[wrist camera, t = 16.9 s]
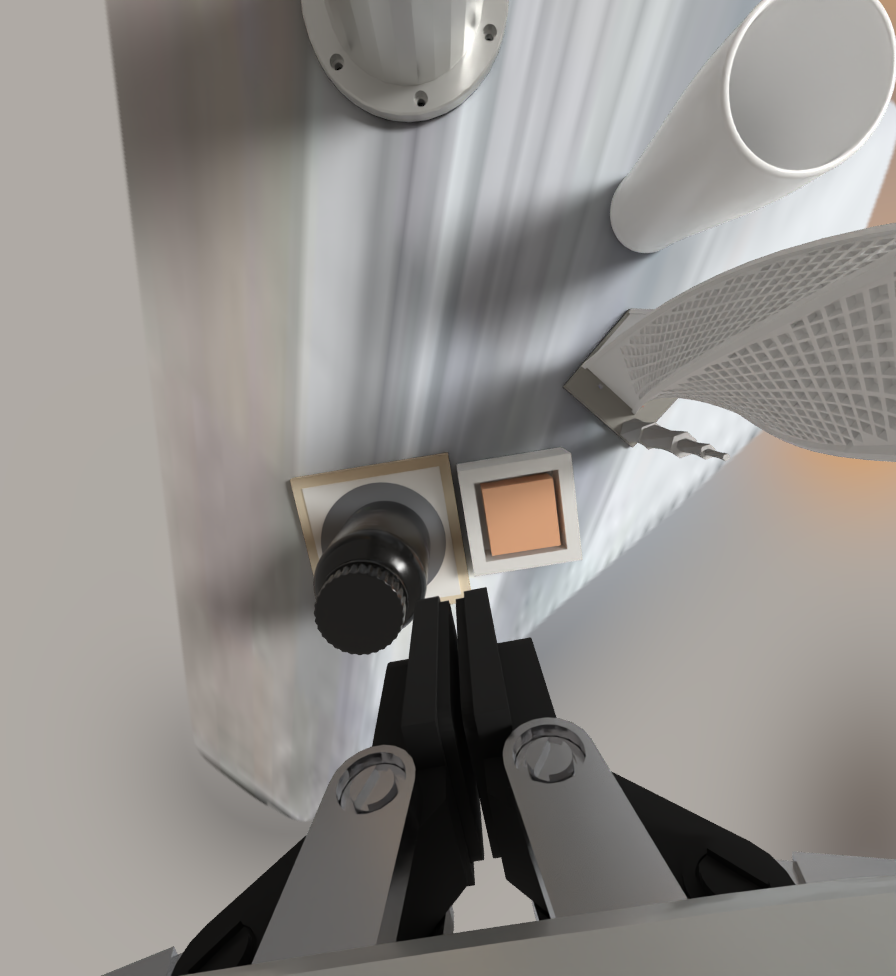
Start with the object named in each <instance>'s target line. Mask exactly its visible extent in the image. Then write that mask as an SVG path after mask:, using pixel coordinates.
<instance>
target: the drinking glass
mask: <svg viewBox="0 0 896 976" xmlns="http://www.w3.org/2000/svg"><path fill="white" fill-rule="evenodd" d="M895 80H896V38H895V33H894V30H893V26H892V23H891V21H890V19H889V17H888V14H887V12H886V11H885V9H884V7H883V6H882V4H881V3H880V2H879V0H762V1H761V2H760V3H759V4H758V5H757V6H756V7H755V8H754V9H753V10H752V11H751V12H750V13H749V14H748V16H747V17H746V18H745V19H744V20H743V21H742V22H741V23H740V24H739V25H738V26H737V27H736V28H735V29H734V30H733V32H732V33H731V34H730V35H729V36H728V37H727V38H726V39H725V40H724V42H723V43H722V44H721V45H720V46H719V47H718V48H717V50H716V51H715V52H714V53H713V54H712V55H711V57H710V58H709V59H708V60H707V61H706V63H705V64H704V65H703V66H702V68H701V69H700V70H699V71H698V73H697V74H696V75H695V77H694V78H693V79H692V81H691V82H690V83H689V85H688V86H687V88H686V89H685V90H684V92H683V93H682V95H681V96H680V98H679V99H678V101H677V102H676V104H675V105H674V107H673V108H672V110H671V111H670V113H669V114H668V116H667V117H666V119H665V120H664V122H663V123H662V125H661V126H660V128H659V129H658V131H657V132H656V134H655V135H654V137H653V138H652V140H651V141H650V143H649V144H648V146H647V147H646V149H645V150H644V152H643V153H642V155H641V156H640V158H639V159H638V161H637V162H636V164H635V165H634V167H633V168H632V170H631V171H630V172H629V173H628V174H627V176H626V177H625V178H624V179H623V180H622V181H621V183H620V184H619V186H618V187H617V189H616V191H615V193H614V196H613V199H612V202H611V207H610V221H611V226H612V229H613V231H614V234H615V235H616V237H617V239H618V240H619V241H620V242H621V243H622V244H623V245H624V246H625V247H627V248H628V249H630V250H632V251H635V252H639V253H653V252H657V251H660V250H663V249H665V248H667V247H669V246H670V245H672V244H674V243H676V242H678V241H681V240H683V239H685V238H688V237H690V236H693V235H696V234H698V233H701V232H703V231H706V230H708V229H711V228H713V227H716V226H719V225H721V224H724V223H726V222H729V221H732V220H734V219H737V218H740V217H742V216H745V215H747V214H750V213H752V212H755V211H757V210H759V209H761V208H764V207H766V206H768V205H770V204H772V203H774V202H776V201H778V200H780V199H782V198H784V197H786V196H788V195H790V194H792V193H793V192H795V191H797V190H799V189H801V188H802V187H804V186H806V185H807V184H809V183H811V182H812V181H814V180H816V179H817V178H819V177H821V176H822V175H824V174H826V173H827V172H829V171H830V170H832V169H834V168H836V167H837V166H839V165H841V164H842V163H843V162H845V161H846V160H848V159H849V158H850V157H851V156H852V155H854V154H855V153H856V152H857V151H858V150H859V149H860V148H861V147H862V146H863V145H864V144H865V143H866V141H867V140H868V139H869V138H870V137H871V135H872V134H873V132H874V131H875V130H876V128H877V127H878V125H879V123H880V121H881V120H882V118H883V116H884V114H885V112H886V110H887V107H888V105H889V102H890V100H891V96H892V93H893V90H894V85H895Z"/></svg>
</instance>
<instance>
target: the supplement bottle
mask: <svg viewBox="0 0 896 976" xmlns="http://www.w3.org/2000/svg"><path fill="white" fill-rule="evenodd" d="M429 560H430V536H429V532H428V529H427V527H426V525H425V523H424V521H423V520H422V519H421V517H420V516H419V515H418V514H417V513H416V512H415V511H413V510H412V509H411V508H409V507H407V506H405V505H403V504H401V503H398V502H394V501H376V502H372V503H369V504H366V505H364V506H362V507H361V508H359V509H358V510H356V511H355V512H354V513H353V514H352V515H351V516H350V517H349V519H348V520H347V521H346V522H345V524H344V525H343V526H342V528H341V529H340V530H339V532H338V533H337V535H336V536H335V537H334V539H333V540H332V541H331V543H330V544H329V545H328V547H327V548H326V550H325V551H324V552H323V554H322V556H321V557H320V559H319V561H318V563H317V566H316V569H315V573H314V580H313V586H314V594H315V598H316V602H315V611H314V615H315V617H316V618H315V622H316V624H317V625H318V630H319V631H320V632H321V633H322V637H324V638H325V639H326V640H327V642H328V643H330V644H332V645H333V646H334V647H335V648H337V649H340V650H341V651H342V652H348V653H350V654H358V655H362V654H370V653H373V652H374V653H376V652H378V651H379V650H381V649H385V647H386V646H387V645H390V644H391V643H392V641H393V640H394V639H396V638H397V636H398V633H399V632H400V631H401V630H402V629H403V628H404V627H406V626H407V625H408V624H409V623H410V622H411V621H412V620H413V617H414V609H415V601H416V600H419V599H424V598H425V596H426V590H427V581H428V571H429Z"/></svg>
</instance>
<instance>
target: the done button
mask: <svg viewBox="0 0 896 976" xmlns="http://www.w3.org/2000/svg"><path fill="white" fill-rule="evenodd" d="M480 487H481V493H482V500H483V506H484V513H485V519H486V526H487V532H488V539H489V545H490V550H491V553H492V556H495V555H502V554H508V553H514V552H521V551H527V550H533V549H540V548H546V547H553V546H559V545H561V543H560V534H559V526H558V517H557V509H556V500H555V492H554V483H553V478H552V477H551V476H550V475H549V474H548V473H542V474H536V475H530V476H523V477H517V478H511V479H505V480H499V481H493V482H486V483H480Z"/></svg>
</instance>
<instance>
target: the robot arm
mask: <svg viewBox="0 0 896 976" xmlns="http://www.w3.org/2000/svg"><path fill="white" fill-rule="evenodd" d="M301 5H302V14H303V18H304V22H305V25H306V29H307V33H308V36H309V39H310V42H311V44H312V46H313V49H314V51H315V54H316V56H317V58H318V60H319V62H320V64H321V65H322V67H323V69H324V71H325V72H326V74H327V76H328V77H329V78H330V80H331V81H332V82H333V83H334V85H335V86H336V87H337V88H338V89H339V91H340V92H341V93H342V94H343V95H345V96H346V97H347V98H348V99H349V100H351V101H352V102H353V103H354V104H355V105H357V106H358V107H360V108H362V109H364V110H366V111H367V112H369V113H371V114H373V115H375V116H379V117H382V118H385V119H388V120H391V121H403V122H415V121H422V120H429V119H432V118H434V117H437V116H440V115H443V114H445V113H447V112H449V111H450V110H452V109H454V108H455V107H457V106H458V105H460V104H462V103H463V102H464V101H465V100H466V99H467V98H468V97H469V96H470V95H471V94H472V93H474V92H475V91H476V90H477V88H478V87H479V86H480V84H481V83H482V82H483V80H484V79H485V77H486V76H487V75H488V73H489V72H490V70H491V67H492V65H493V63H494V61H495V59H496V57H497V55H498V53H499V50H500V46H501V43H502V39H503V36H504V33H505V27H506V21H507V15H508V7H509V0H301ZM486 39H491V40H492V41H487V40H486ZM339 67H342V69H340V70H337V68H339ZM419 103H424V104H425V106H423V107H419V106H418V104H419ZM456 617H457V634H456V629H455V625H454V620H453V616H452V611H451V606H450V603H449V600H448V601H443V602H441V600H440V597H439V596H435V597H430V598H424V599H419V600H416V601H415V609H414V617H413V626H412V634H411V643H410V651H409V659H406V660H400V661H394V662H390V663H388V665H387V669H386V674H385V680H384V685H383V690H382V696H381V701H380V707H379V712H378V717H377V723H376V728H375V734H374V739H373V745H372V747H370V748H367V749H365V750H362V751H360V752H358V753H356V754H355V755H353V756H352V757H350V758H349V759H347V760H346V761H345V762H344V763H343V764H342V765H341V766H340V767H339V768H338V769H337V770H336V772H335V774H334V775H333V777H332V779H331V780H330V782H329V784H328V787H327V789H326V791H325V794H324V796H323V798H322V801H321V803H320V805H319V808H318V810H317V812H316V815H315V817H314V819H313V822H312V824H311V826H310V829H309V831H308V833H307V835H306V836H305V837H304V838H303V839H302V840H301V841H299V842H298V843H297V844H296V845H295V846H294V847H293V848H292V849H290V850H289V851H288V852H287V853H286V854H285V855H284V856H283V857H282V858H280V859H279V860H278V861H277V862H276V863H275V864H274V865H273V866H272V867H270V868H269V869H268V870H267V871H266V872H265V873H264V874H263V875H262V876H260V877H259V878H258V879H257V880H256V881H255V882H254V883H253V884H252V885H250V887H248V888H247V889H246V890H245V891H244V892H243V893H242V894H241V895H239V896H238V897H237V898H236V899H235V900H234V901H233V902H232V903H230V904H229V905H228V906H227V907H226V908H225V909H224V910H223V911H222V912H221V913H219V914H218V915H217V916H216V917H215V918H214V919H213V920H212V921H210V922H209V923H208V924H207V925H206V926H205V927H204V928H203V929H202V930H201V931H200V933H198V935H197V936H196V937H195V938H194V939H193V940H192V941H191V942H190V943H189V945H188V946H187V948H186V949H185V951H184V952H183V953H181V954H177V952H176V950H175V948H174V946H173V947H171V948H169V949H166V950H164V951H161V952H159V953H156V954H154V955H151V956H149V957H146V958H144V959H141V960H139V961H136V962H134V963H131V964H129V965H126V966H124V967H122V968H119V969H117V970H114V971H112V972H109V973H107V974H104V975H102V976H896V860H895V859H881V858H869V857H856V856H844V855H830V854H817V853H805V852H793V861H787V860H775V859H774V858H773V857H772V856H771V855H770V854H768V853H767V852H765V851H764V850H762V849H761V848H759V847H757V846H756V845H754V844H753V843H751V842H750V841H748V840H746V839H744V838H742V837H740V836H738V835H736V834H734V833H732V832H730V831H728V830H726V829H724V828H722V827H720V826H718V825H716V824H714V823H712V822H710V821H708V820H706V819H704V818H702V817H700V816H698V815H696V814H694V813H692V812H690V811H688V810H686V809H684V808H683V807H681V806H679V805H677V804H675V803H673V802H670V801H668V800H667V799H665V798H663V797H661V796H659V795H656V794H655V793H653V792H651V791H649V790H647V789H645V788H643V787H641V786H639V785H637V784H635V783H633V782H631V781H629V780H627V779H625V778H623V777H621V776H619V775H617V774H615V773H613V772H611V771H610V769H609V767H608V766H607V764H606V762H605V761H604V759H603V757H602V756H601V754H600V752H599V751H598V749H597V748H596V746H595V744H594V742H593V741H592V739H591V738H590V737H589V736H588V734H587V733H586V732H585V731H584V730H583V729H582V728H580V727H579V726H577V725H576V724H574V723H572V722H570V721H566V720H563V719H560V718H556V715H555V712H554V709H553V705H552V702H551V699H550V696H549V693H548V689H547V686H546V683H545V680H544V677H543V673H542V670H541V667H540V664H539V661H538V657H537V654H536V651H535V648H534V645H533V642H532V639H531V638H525V639H519V640H514V641H508V642H502V643H497V640H496V635H495V630H494V624H493V619H492V614H491V609H490V604H489V598H488V593H487V588H486V587H485V588H480V589H474V590H469V591H464V598H459V599H456ZM457 637H458V639H457ZM480 802H481V806H482V811H483V815H484V820H485V824H486V829H487V833H488V838H489V842H490V847H491V851H492V855H493V858H499V857H501V858H502V863H503V867H504V872H505V877H506V879H507V880H508V881H509V882H510V883H511V884H513V885H514V886H515V887H516V888H518V889H519V890H520V891H521V892H522V893H524V894H525V895H526V896H527V897H529V898H530V899H531V900H532V904H533V909H534V914H535V918H536V921H534V922H527V923H520V924H514V925H507V926H500V927H493V928H487V929H480V930H473V931H467V932H460V933H453V931H454V912H453V908H452V905H453V903H454V902H455V901H456V899H457V898H458V897H459V896H460V894H461V893H462V892H463V890H464V889H465V888H466V886H472V885H475V878H474V861H480V860H484V848H483V836H482V823H481V811H480Z"/></svg>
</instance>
